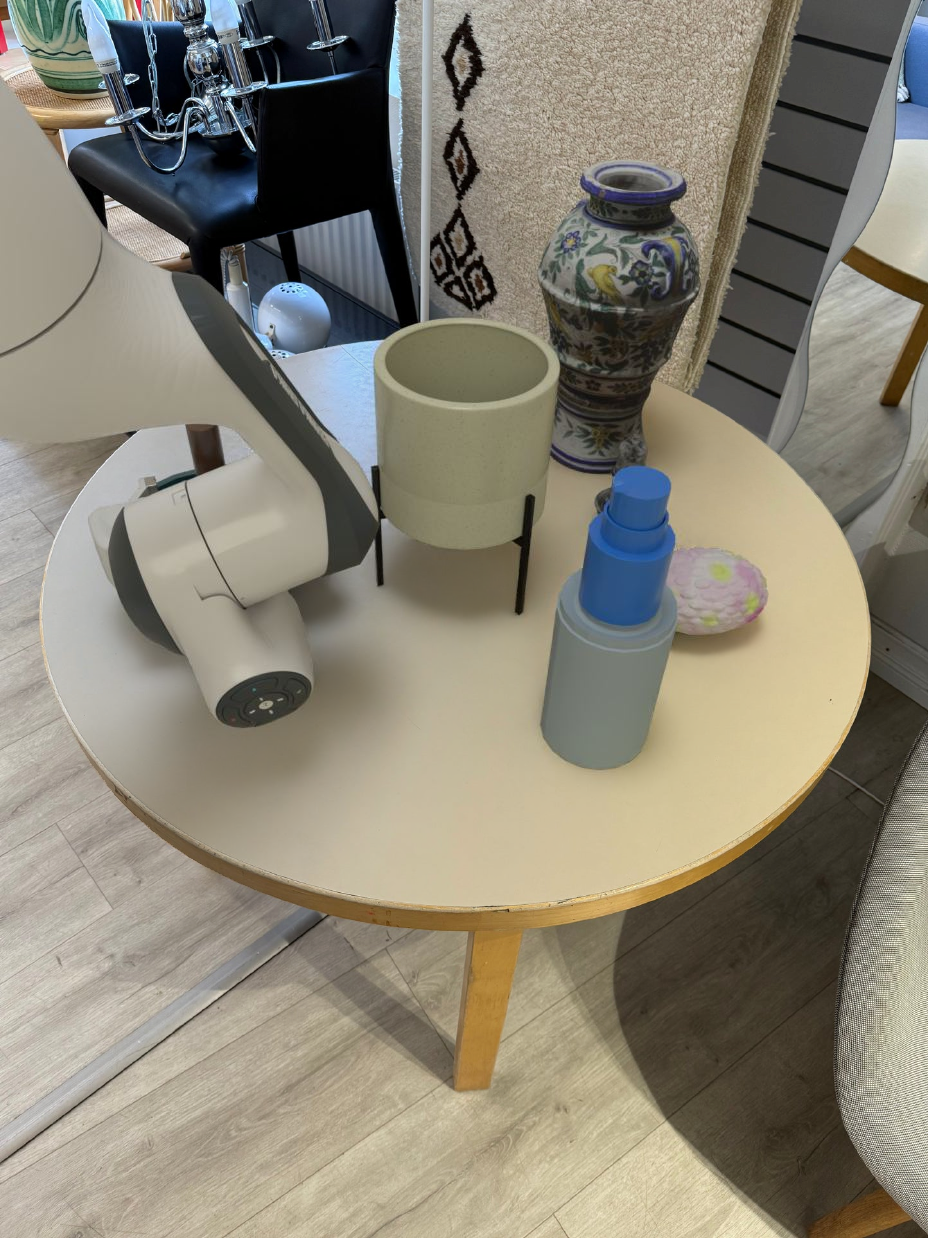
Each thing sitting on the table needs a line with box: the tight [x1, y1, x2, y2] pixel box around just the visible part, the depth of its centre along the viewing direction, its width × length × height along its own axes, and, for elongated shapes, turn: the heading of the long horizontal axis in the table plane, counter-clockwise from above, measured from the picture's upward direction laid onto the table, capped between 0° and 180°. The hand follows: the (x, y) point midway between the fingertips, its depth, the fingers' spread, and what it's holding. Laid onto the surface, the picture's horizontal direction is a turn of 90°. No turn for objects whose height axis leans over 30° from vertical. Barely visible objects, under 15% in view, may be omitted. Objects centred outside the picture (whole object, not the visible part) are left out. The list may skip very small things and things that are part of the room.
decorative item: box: [666, 546, 769, 636], centre depth 83 cm, size 9×11×10 cm
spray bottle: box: [539, 465, 677, 770], centre depth 67 cm, size 9×9×25 cm
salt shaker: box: [593, 433, 649, 515], centre depth 91 cm, size 6×6×12 cm
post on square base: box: [184, 424, 227, 477], centre depth 85 cm, size 5×5×14 cm
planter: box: [370, 317, 560, 616], centre depth 82 cm, size 15×16×23 cm
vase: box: [536, 159, 702, 475], centre depth 96 cm, size 17×17×30 cm
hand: (200, 473), depth 84 cm, fingers open, 8 cm apart
